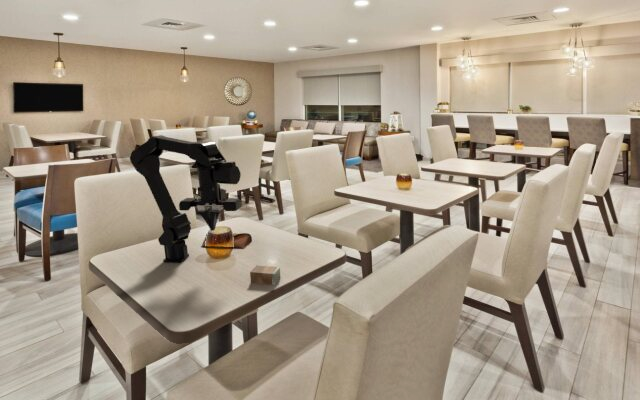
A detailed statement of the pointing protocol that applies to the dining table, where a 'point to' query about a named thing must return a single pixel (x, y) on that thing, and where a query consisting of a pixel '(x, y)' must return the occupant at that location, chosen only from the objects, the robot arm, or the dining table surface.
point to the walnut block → (265, 275)
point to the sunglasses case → (238, 240)
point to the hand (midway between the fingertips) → (213, 230)
